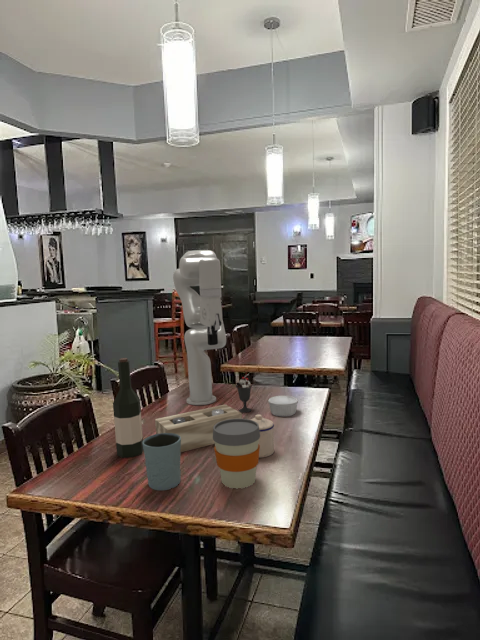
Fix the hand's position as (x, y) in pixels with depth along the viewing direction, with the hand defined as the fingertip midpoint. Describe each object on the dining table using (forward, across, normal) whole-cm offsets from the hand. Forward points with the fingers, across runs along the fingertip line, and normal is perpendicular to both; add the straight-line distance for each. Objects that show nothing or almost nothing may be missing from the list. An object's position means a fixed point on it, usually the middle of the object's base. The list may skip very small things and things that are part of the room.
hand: (212, 344), depth 160 cm
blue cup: (+28, +35, -31) cm, 54 cm away
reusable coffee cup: (+28, +44, -13) cm, 54 cm away
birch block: (+29, +12, -11) cm, 33 cm away
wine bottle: (+29, +10, -34) cm, 46 cm away
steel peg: (+28, +12, -4) cm, 31 cm away
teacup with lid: (+28, +31, -1) cm, 42 cm away
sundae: (+30, -6, +15) cm, 34 cm away
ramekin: (+30, +5, +26) cm, 40 cm away
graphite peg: (+28, +12, -18) cm, 36 cm away
